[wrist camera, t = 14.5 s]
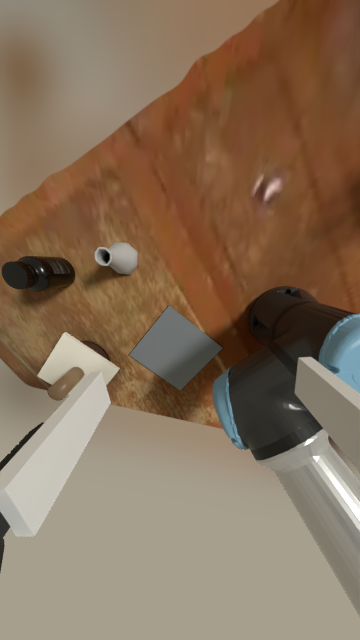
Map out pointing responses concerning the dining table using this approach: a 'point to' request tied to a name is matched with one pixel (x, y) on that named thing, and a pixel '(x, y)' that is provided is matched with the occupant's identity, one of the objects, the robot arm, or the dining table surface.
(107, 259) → the flask
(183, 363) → the mat
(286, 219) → the dining table surface
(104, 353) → the cup and saucer
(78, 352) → the board
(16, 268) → the supplement bottle
